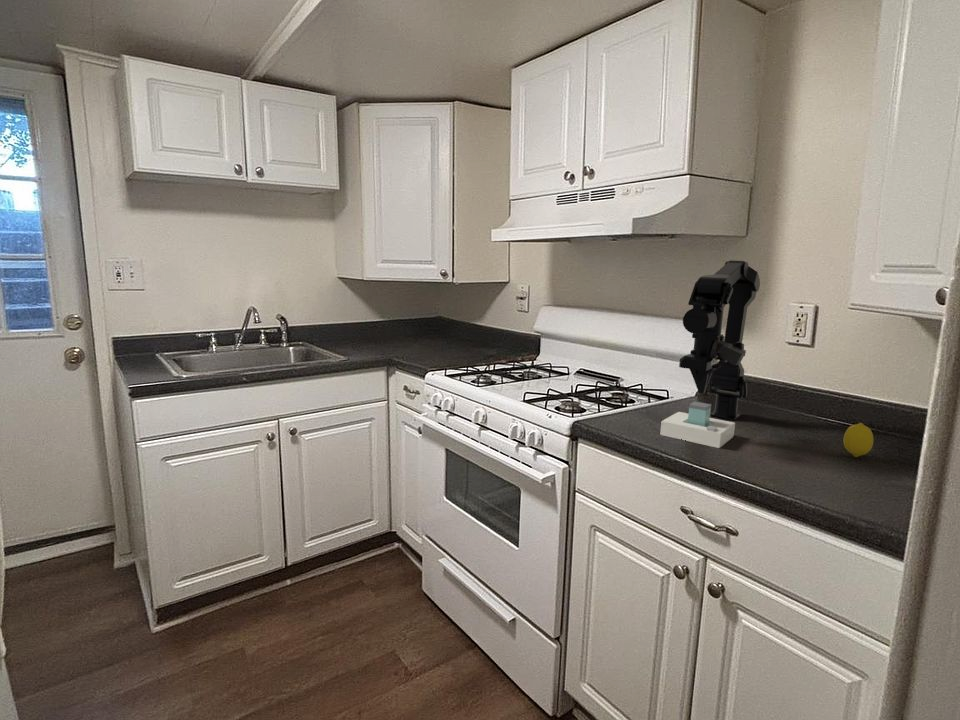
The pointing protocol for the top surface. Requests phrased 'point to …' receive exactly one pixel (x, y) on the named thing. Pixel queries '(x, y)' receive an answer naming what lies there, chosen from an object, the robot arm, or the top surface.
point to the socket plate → (698, 430)
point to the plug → (699, 414)
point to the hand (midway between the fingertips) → (701, 393)
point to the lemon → (858, 439)
